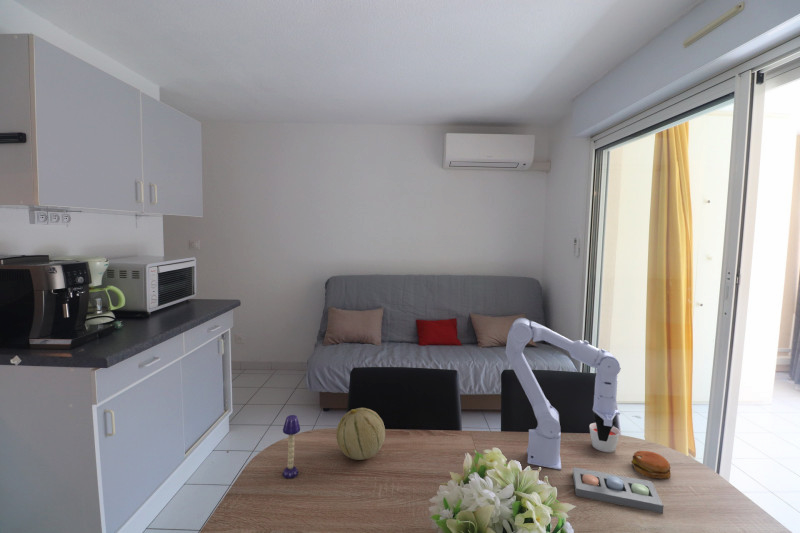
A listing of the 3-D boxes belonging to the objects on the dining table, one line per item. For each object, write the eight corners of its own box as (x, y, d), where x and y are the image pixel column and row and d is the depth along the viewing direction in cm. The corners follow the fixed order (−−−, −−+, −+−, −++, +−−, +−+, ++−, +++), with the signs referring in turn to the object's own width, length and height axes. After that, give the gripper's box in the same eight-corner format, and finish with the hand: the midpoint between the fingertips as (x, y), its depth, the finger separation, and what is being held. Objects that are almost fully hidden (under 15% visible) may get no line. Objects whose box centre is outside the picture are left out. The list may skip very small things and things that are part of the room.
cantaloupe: (393, 460, 123) (395, 412, 122) (350, 475, 115) (351, 423, 114) (369, 440, 135) (370, 395, 134) (327, 452, 127) (328, 404, 126)
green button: (632, 497, 107) (633, 490, 107) (629, 489, 111) (630, 482, 111) (650, 501, 106) (650, 493, 106) (646, 492, 110) (646, 485, 110)
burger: (677, 477, 119) (678, 461, 118) (653, 483, 116) (654, 467, 115) (647, 460, 128) (648, 445, 128) (624, 464, 125) (625, 449, 125)
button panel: (576, 495, 108) (576, 488, 108) (572, 473, 119) (572, 466, 119) (662, 513, 102) (663, 505, 102) (651, 488, 113) (651, 481, 112)
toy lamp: (303, 472, 115) (303, 415, 114) (292, 481, 111) (292, 421, 110) (289, 468, 117) (290, 411, 116) (278, 476, 113) (278, 418, 112)
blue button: (607, 490, 109) (608, 483, 109) (605, 482, 113) (605, 475, 113) (624, 493, 108) (624, 486, 108) (621, 485, 112) (621, 478, 112)
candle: (624, 455, 130) (625, 435, 130) (596, 454, 130) (597, 434, 130) (610, 441, 139) (611, 423, 139) (583, 440, 139) (584, 422, 139)
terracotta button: (582, 488, 111) (583, 480, 111) (581, 480, 115) (581, 473, 115) (599, 491, 110) (599, 484, 110) (597, 483, 114) (597, 476, 113)
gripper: (625, 405, 111) (622, 454, 112) (616, 388, 125) (613, 431, 126) (597, 402, 113) (594, 449, 114) (590, 384, 127) (588, 427, 128)
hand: (602, 440), depth 120 cm, fingers closed
